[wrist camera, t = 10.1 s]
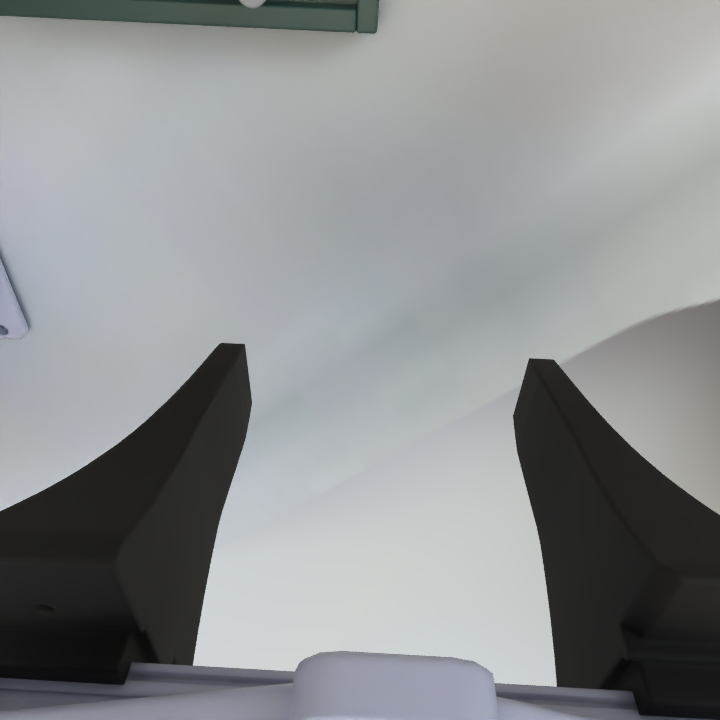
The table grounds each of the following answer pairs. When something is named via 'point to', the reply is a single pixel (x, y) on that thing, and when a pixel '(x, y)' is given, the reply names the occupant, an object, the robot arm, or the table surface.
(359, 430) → the table surface
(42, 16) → the rack
